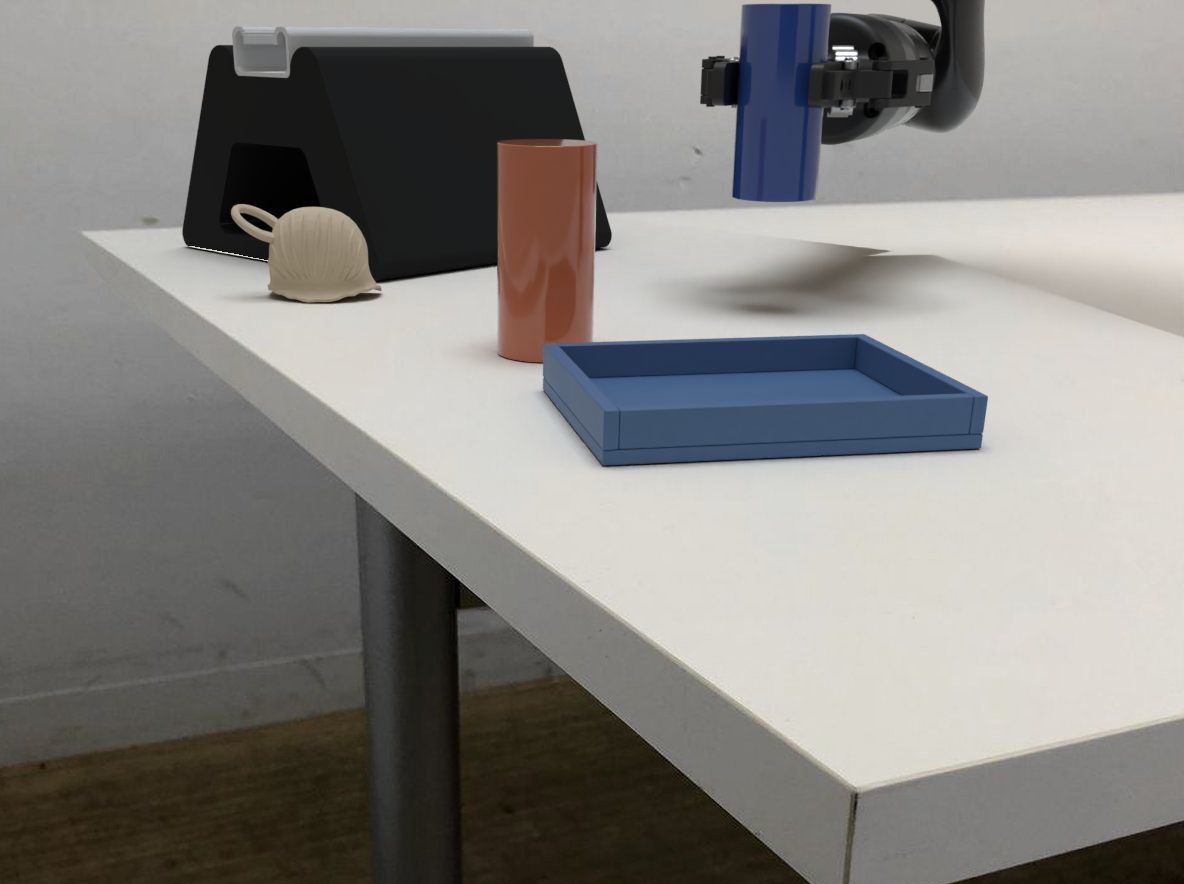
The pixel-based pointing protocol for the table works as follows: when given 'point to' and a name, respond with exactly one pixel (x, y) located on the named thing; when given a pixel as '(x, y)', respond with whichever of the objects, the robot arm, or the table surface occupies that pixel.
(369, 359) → the table surface
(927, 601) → the table surface
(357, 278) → the decorative ornament
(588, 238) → the cylinder
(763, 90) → the blue tall cylinder
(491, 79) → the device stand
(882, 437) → the blue tray
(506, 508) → the table surface
